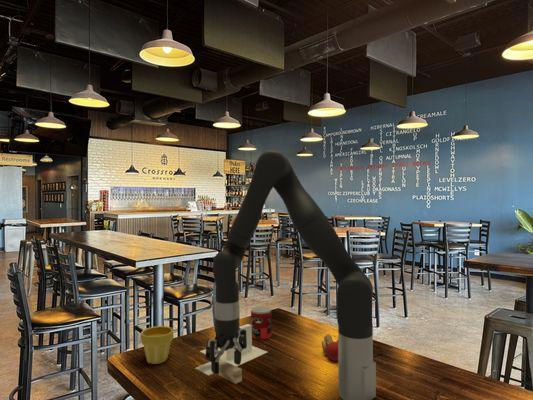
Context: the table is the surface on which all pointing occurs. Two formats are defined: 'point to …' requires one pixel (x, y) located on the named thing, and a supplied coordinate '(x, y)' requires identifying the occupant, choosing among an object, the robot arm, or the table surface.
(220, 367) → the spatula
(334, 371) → the table surface
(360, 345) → the robot arm
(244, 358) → the mat
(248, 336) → the tile
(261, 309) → the canned food
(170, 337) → the plant pot
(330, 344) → the kendama
